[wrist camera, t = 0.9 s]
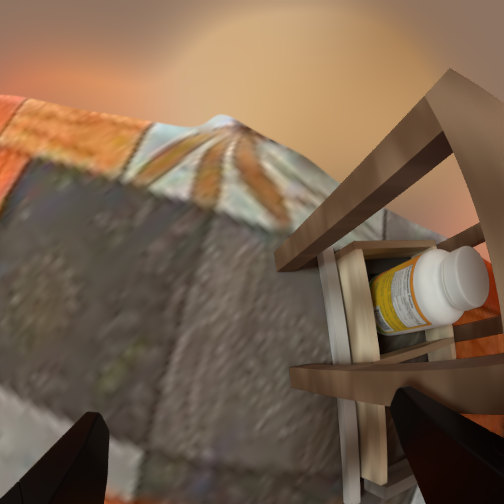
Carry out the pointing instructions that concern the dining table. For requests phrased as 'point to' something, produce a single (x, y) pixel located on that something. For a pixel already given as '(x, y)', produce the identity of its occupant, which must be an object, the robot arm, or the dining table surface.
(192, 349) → the dining table surface
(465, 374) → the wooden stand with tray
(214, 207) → the dining table surface
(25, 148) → the dining table surface
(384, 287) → the supplement bottle
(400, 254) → the wooden rack
